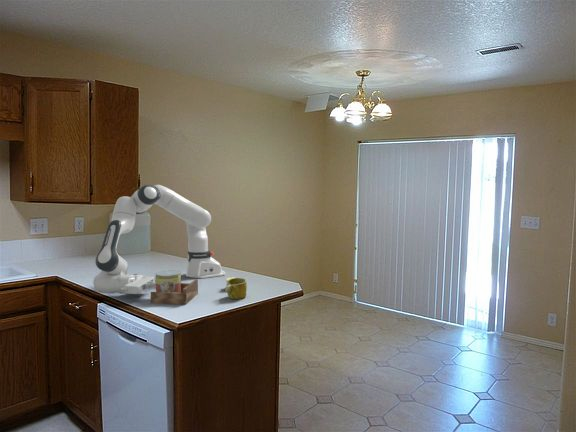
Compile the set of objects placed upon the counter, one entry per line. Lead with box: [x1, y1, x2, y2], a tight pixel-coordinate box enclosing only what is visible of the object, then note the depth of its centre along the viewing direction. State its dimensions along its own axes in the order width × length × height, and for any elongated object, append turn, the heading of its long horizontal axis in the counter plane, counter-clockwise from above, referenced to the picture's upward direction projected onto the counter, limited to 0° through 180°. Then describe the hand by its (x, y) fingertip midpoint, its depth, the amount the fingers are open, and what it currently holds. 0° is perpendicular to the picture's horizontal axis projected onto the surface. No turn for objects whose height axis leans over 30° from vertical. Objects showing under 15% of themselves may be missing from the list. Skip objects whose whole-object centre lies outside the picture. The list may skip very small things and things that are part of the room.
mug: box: [225, 277, 248, 300], centre depth 204 cm, size 12×10×10 cm
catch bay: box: [150, 278, 199, 305], centre depth 202 cm, size 16×18×7 cm
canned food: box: [155, 269, 182, 293], centre depth 202 cm, size 11×11×12 cm
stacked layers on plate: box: [226, 276, 235, 286], centre depth 220 cm, size 10×9×6 cm
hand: (157, 285), depth 202 cm, fingers closed, pressing on canned food
